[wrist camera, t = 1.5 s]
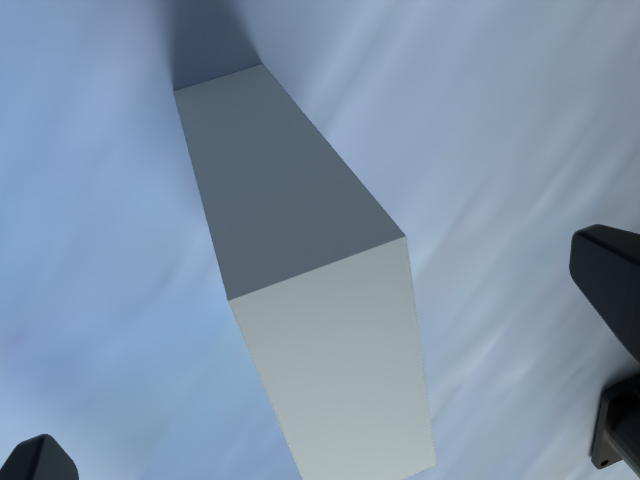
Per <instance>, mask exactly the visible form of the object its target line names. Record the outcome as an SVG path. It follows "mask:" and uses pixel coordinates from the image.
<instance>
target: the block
mask: <svg viewBox="0 0 640 480" xmlns="http://www.w3.org/2000/svg"><path fill="white" fill-rule="evenodd" d="M173 92H174V96H175V100H176V104H177V108H178V112H179V115H180V119H181V123H182V127H183V131H184V135H185V138H186V142H187V146H188V150H189V154H190V157H191V161H192V165H193V169H194V173H195V177H196V180H197V184H198V188H199V192H200V196H201V200H202V203H203V207H204V211H205V215H206V219H207V222H208V226H209V230H210V234H211V238H212V242H213V245H214V249H215V253H216V257H217V261H218V265H219V268H220V272H221V276H222V280H223V284H224V287H225V291H226V295H227V299H228V302H229V305H230V307H231V309H232V312H233V314H234V316H235V319H236V321H237V324H238V326H239V328H240V331H241V333H242V336H243V338H244V340H245V343H246V345H247V348H248V350H249V352H250V355H251V357H252V360H253V362H254V364H255V367H256V369H257V371H258V374H259V376H260V379H261V381H262V383H263V386H264V388H265V391H266V393H267V395H268V398H269V400H270V403H271V405H272V407H273V410H274V412H275V414H276V417H277V419H278V422H279V424H280V426H281V429H282V431H283V434H284V436H285V438H286V441H287V443H288V446H289V448H290V450H291V453H292V455H293V458H294V460H295V462H296V465H297V467H298V469H299V472H300V474H301V477H302V479H303V480H402V479H404V478H407V477H409V476H411V475H414V474H416V473H418V472H421V471H423V470H425V469H428V468H430V467H432V466H435V465H437V463H436V456H435V448H434V441H433V434H432V426H431V419H430V411H429V404H428V396H427V389H426V381H425V374H424V366H423V359H422V351H421V344H420V337H419V329H418V322H417V314H416V307H415V299H414V292H413V284H412V277H411V269H410V262H409V254H408V247H407V240H406V235H405V234H404V233H403V232H402V231H401V229H400V228H399V227H398V226H397V225H396V223H395V222H394V221H393V220H392V219H391V217H390V216H389V215H388V214H387V213H386V211H385V210H384V209H383V208H382V207H381V205H380V204H379V203H378V202H377V201H376V199H375V198H374V197H373V196H372V195H371V193H370V192H369V191H368V190H367V189H366V187H365V186H364V185H363V184H362V183H361V181H360V180H359V179H358V178H357V176H356V175H355V174H354V173H353V172H352V170H351V169H350V168H349V167H348V166H347V164H346V163H345V162H344V161H343V160H342V158H341V157H340V156H339V155H338V154H337V152H336V151H335V150H334V149H333V148H332V146H331V145H330V144H329V143H328V142H327V140H326V139H325V138H324V137H323V136H322V134H321V133H320V132H319V131H318V130H317V128H316V127H315V126H314V125H313V124H312V122H311V121H310V120H309V119H308V118H307V116H306V115H305V114H304V113H303V112H302V110H301V109H300V108H299V107H298V106H297V104H296V103H295V102H294V101H293V100H292V98H291V97H290V96H289V95H288V94H287V92H286V91H285V90H284V89H283V88H282V86H281V85H280V84H279V83H278V82H277V80H276V79H275V78H274V77H273V76H272V74H271V73H270V72H269V71H268V70H267V68H266V67H265V66H264V65H263V64H260V65H257V66H254V67H250V68H247V69H244V70H241V71H237V72H234V73H231V74H228V75H224V76H221V77H218V78H215V79H211V80H208V81H205V82H202V83H198V84H195V85H192V86H189V87H185V88H182V89H179V90H176V91H173Z"/></svg>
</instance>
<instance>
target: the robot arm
mask: <svg viewBox="0 0 640 480" xmlns="http://www.w3.org/2000/svg"><path fill="white" fill-rule="evenodd" d="M569 270H570V274H571V277H572V279H573V281H574V282H575V283H576V285H577V286H578V287H579V289H580V290H581V291H582V293H583V294H584V295H585V297H586V298H587V299H588V300H589V302H590V303H591V304H592V306H593V307H594V308H595V310H596V311H597V312H598V314H599V315H600V316H601V317H602V319H603V320H604V321H605V323H606V324H607V325H608V327H609V328H610V329H611V331H612V332H613V333H614V334H615V336H616V337H617V338H618V340H619V341H620V342H621V343H622V344H623V346H624V347H625V348H626V349H627V350H628V352H629V353H630V354H631V355H632V356H633V357H634V358H635V359H636V360H637V362H638V363H639V364H640V234H637V233H633V232H629V231H625V230H621V229H617V228H613V227H609V226H605V225H600V224H595V225H591V226H589V227H586V228H583V229H581V230H578V231H576V232H575V233H574V235H573V236H572V242H571V253H570V263H569ZM621 460H624V461H625V462H626V463H627V465H628V466H629V467H630V468H631V469H632V470H633V471H634V472H635V474H636V475H637V476H638V477H639V478H640V376H638V377H636V378H634V379H631V380H629V381H627V382H624V383H622V384H620V385H617V386H615V387H613V388H611V389H609V390H608V391H607V392H606V393H605V394H604V395H603V398H602V403H601V408H600V414H599V420H598V425H597V431H596V437H595V442H594V448H593V453H592V459H591V462H592V463H593V464H594V466H595V467H596V468H597V469H602V468H605V467H607V466H609V465H612V464H614V463H616V462H618V461H621ZM0 480H79V475H78V471H77V468H76V465H75V463H74V462H73V460H72V459H71V458H70V457H69V456H68V454H67V453H66V452H65V451H64V450H63V449H62V448H61V446H60V445H59V444H58V443H57V442H56V441H55V439H54V438H53V437H52V436H50V435H48V434H41V435H39V436H36V437H33V438H31V439H28V440H26V441H23V442H21V443H19V444H18V445H17V446H16V447H15V448H14V450H13V451H12V453H11V454H10V456H9V457H8V459H7V460H6V462H5V463H4V465H3V466H2V468H1V469H0Z"/></svg>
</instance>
